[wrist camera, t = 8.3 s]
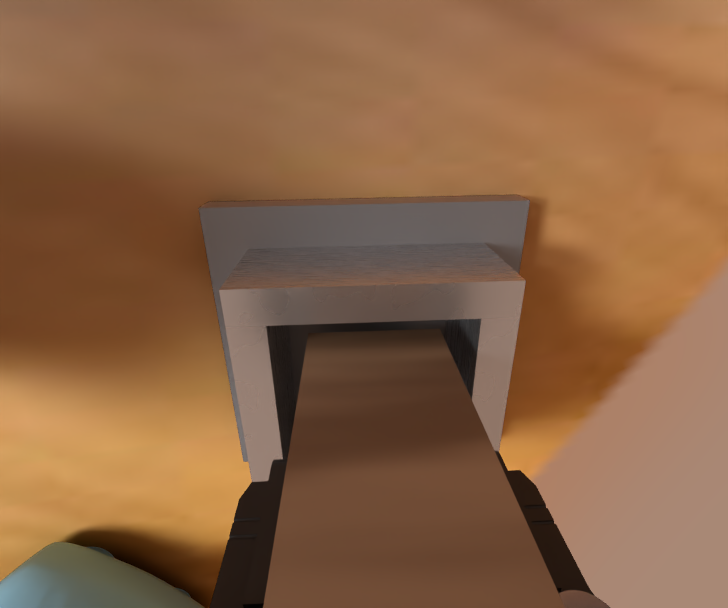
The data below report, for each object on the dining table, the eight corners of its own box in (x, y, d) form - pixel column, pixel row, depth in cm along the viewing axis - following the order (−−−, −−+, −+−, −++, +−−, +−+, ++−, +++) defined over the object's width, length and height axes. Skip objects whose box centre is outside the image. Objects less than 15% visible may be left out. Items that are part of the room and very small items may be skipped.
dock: (208, 201, 16) (151, 238, 11) (517, 194, 16) (588, 227, 12) (248, 443, 21) (221, 539, 16) (484, 433, 21) (525, 523, 17)
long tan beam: (308, 333, 14) (186, 1073, 3) (439, 328, 14) (752, 1024, 3) (316, 436, 16) (257, 1126, 5) (432, 431, 16) (618, 1093, 5)
